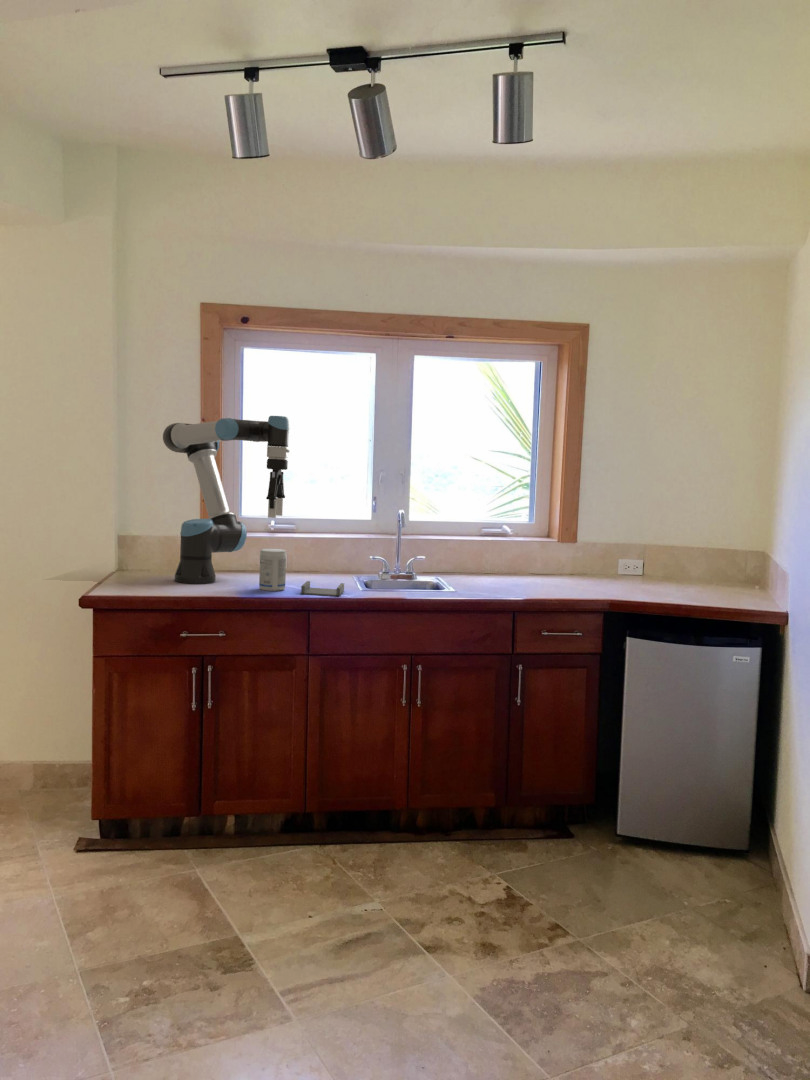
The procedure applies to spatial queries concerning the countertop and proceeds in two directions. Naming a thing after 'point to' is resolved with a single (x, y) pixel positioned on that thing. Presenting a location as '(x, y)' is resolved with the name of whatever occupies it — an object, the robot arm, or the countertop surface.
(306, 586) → the end holder
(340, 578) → the countertop surface
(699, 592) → the countertop surface
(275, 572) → the supplement tub
